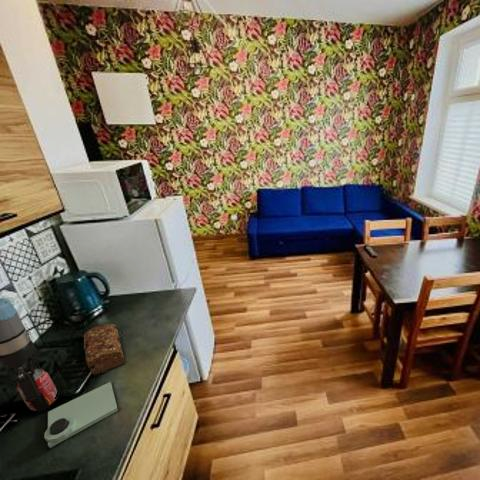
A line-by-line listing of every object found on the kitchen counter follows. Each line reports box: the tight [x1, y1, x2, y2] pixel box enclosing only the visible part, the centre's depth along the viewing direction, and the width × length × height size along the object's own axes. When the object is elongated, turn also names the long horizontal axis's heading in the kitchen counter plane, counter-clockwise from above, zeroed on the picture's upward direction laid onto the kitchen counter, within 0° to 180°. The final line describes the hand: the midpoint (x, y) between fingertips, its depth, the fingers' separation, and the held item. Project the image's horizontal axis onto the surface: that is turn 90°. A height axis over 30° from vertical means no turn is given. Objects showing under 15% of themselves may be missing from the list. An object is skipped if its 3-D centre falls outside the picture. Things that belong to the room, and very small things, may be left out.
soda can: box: [16, 368, 58, 412], centre depth 85 cm, size 7×7×12 cm
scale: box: [43, 381, 119, 449], centre depth 84 cm, size 16×14×3 cm
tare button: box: [50, 418, 68, 435], centre depth 77 cm, size 4×4×2 cm
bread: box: [83, 323, 126, 376], centre depth 104 cm, size 19×11×10 cm, turn 40°
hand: (43, 400), depth 87 cm, fingers open, 8 cm apart
